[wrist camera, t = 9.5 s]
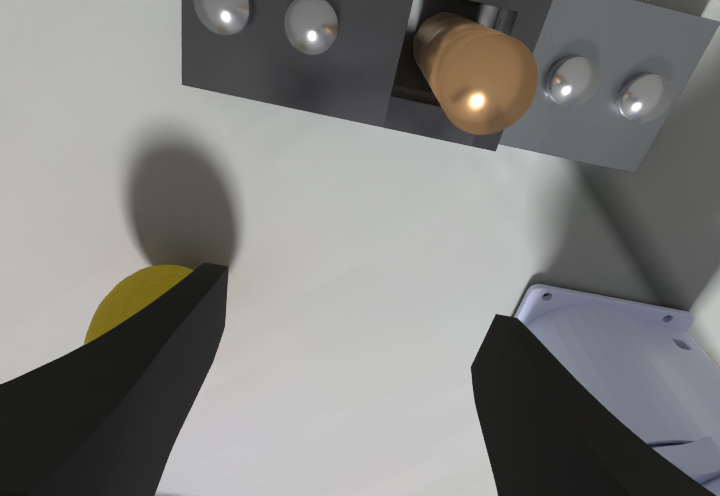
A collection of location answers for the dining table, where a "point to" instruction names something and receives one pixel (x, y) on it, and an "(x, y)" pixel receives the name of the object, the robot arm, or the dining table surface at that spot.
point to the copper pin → (475, 72)
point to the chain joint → (421, 109)
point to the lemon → (134, 296)
